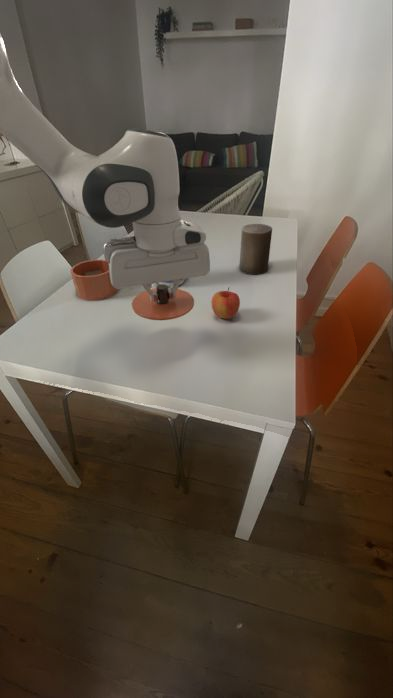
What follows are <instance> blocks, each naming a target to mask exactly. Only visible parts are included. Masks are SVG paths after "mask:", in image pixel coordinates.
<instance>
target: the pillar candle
mask: <svg viewBox="0 0 393 698" xmlns="http://www.w3.org/2000/svg"><path fill="white" fill-rule="evenodd" d="M272 235H273V227H272V226H270V225H268V224H265V223H250V224H245V225H243V226H242V227H241V235H240V237H241V238H240V252H239V270H240V272H242V273H245V274H248V275H262V274H265V273H267V272H268V270H269V262H270V255H271V254H270V252H271V243H272Z"/></svg>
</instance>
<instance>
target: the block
mask: <svg viewBox="0 0 393 698" xmlns="http://www.w3.org/2000/svg"><path fill="white" fill-rule="evenodd" d="M99 274H102V270H96V271H89V272H85V276H93V275H99Z"/></svg>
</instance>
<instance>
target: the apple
mask: <svg viewBox="0 0 393 698" xmlns="http://www.w3.org/2000/svg"><path fill="white" fill-rule="evenodd" d="M240 300H241V299H240V297H239V295H238V294H237V293H236V292H233V291H230V287H229V286H228V287H227V290H221V291H217V292H215V293H214V294H213V296H212V298H211V301H210V303H211V304H210V305H211V309H212V311H213V313H214V315H215V316H216V317H217V318H219V319H225V320H229V319H232V318H233V317H235V315H236V314H237V313H238V311H239V309H240V307H241V301H240Z"/></svg>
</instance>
